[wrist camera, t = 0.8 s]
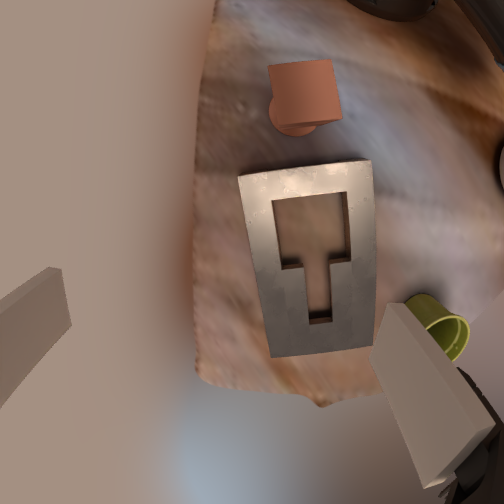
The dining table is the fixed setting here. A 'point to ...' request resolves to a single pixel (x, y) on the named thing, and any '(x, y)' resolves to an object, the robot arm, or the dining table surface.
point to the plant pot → (440, 324)
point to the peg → (303, 96)
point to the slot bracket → (292, 276)
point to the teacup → (502, 167)
